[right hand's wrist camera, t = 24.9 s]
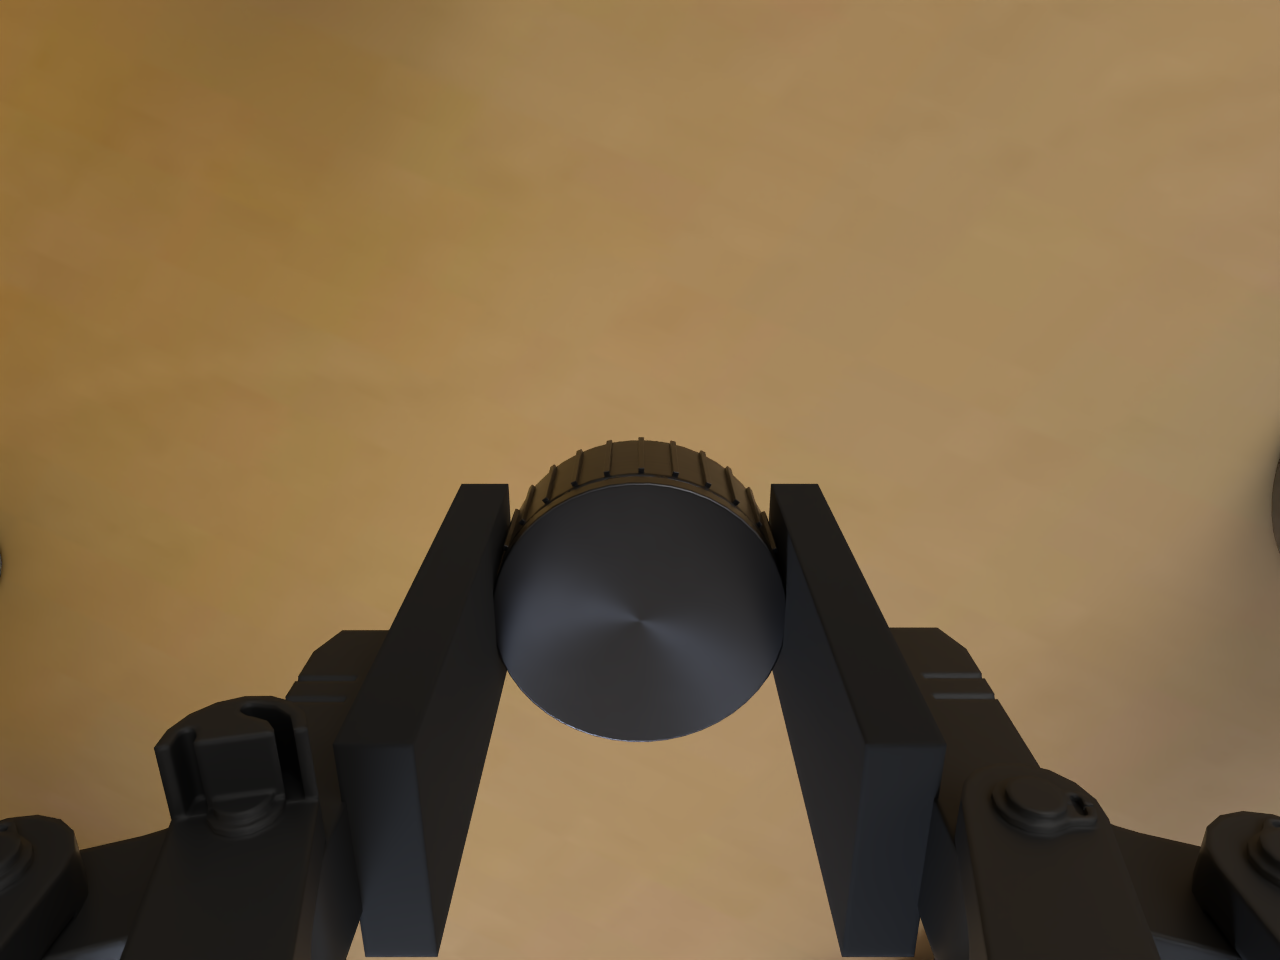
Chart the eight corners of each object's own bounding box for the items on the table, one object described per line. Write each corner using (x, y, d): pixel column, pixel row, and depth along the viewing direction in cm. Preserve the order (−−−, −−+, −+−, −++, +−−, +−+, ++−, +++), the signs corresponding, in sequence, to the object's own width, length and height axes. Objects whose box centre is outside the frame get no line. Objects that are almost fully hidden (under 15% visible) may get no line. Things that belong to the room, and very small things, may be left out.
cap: (804, 635, 15) (824, 701, 14) (560, 704, 16) (550, 776, 14) (729, 398, 14) (742, 438, 12) (463, 484, 14) (439, 534, 12)
